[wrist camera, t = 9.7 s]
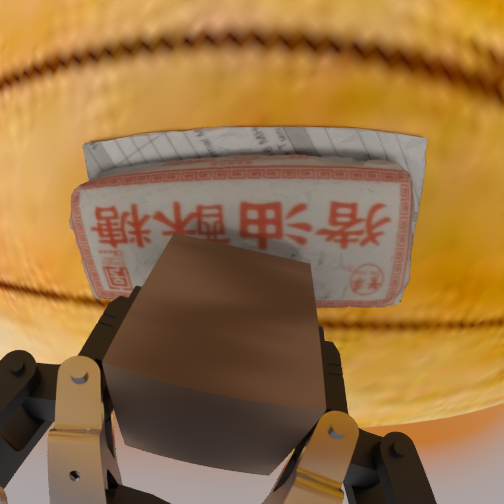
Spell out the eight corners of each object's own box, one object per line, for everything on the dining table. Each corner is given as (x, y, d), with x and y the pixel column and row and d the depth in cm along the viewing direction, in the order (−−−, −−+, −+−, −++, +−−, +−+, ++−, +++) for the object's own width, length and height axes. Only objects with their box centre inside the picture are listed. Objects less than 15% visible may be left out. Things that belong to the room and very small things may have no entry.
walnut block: (310, 263, 11) (326, 410, 6) (275, 352, 14) (268, 475, 9) (174, 232, 11) (101, 362, 6) (167, 329, 14) (125, 445, 9)
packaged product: (95, 331, 16) (40, 163, 11) (125, 283, 21) (92, 139, 15) (415, 341, 15) (467, 155, 10) (393, 288, 19) (420, 132, 14)
